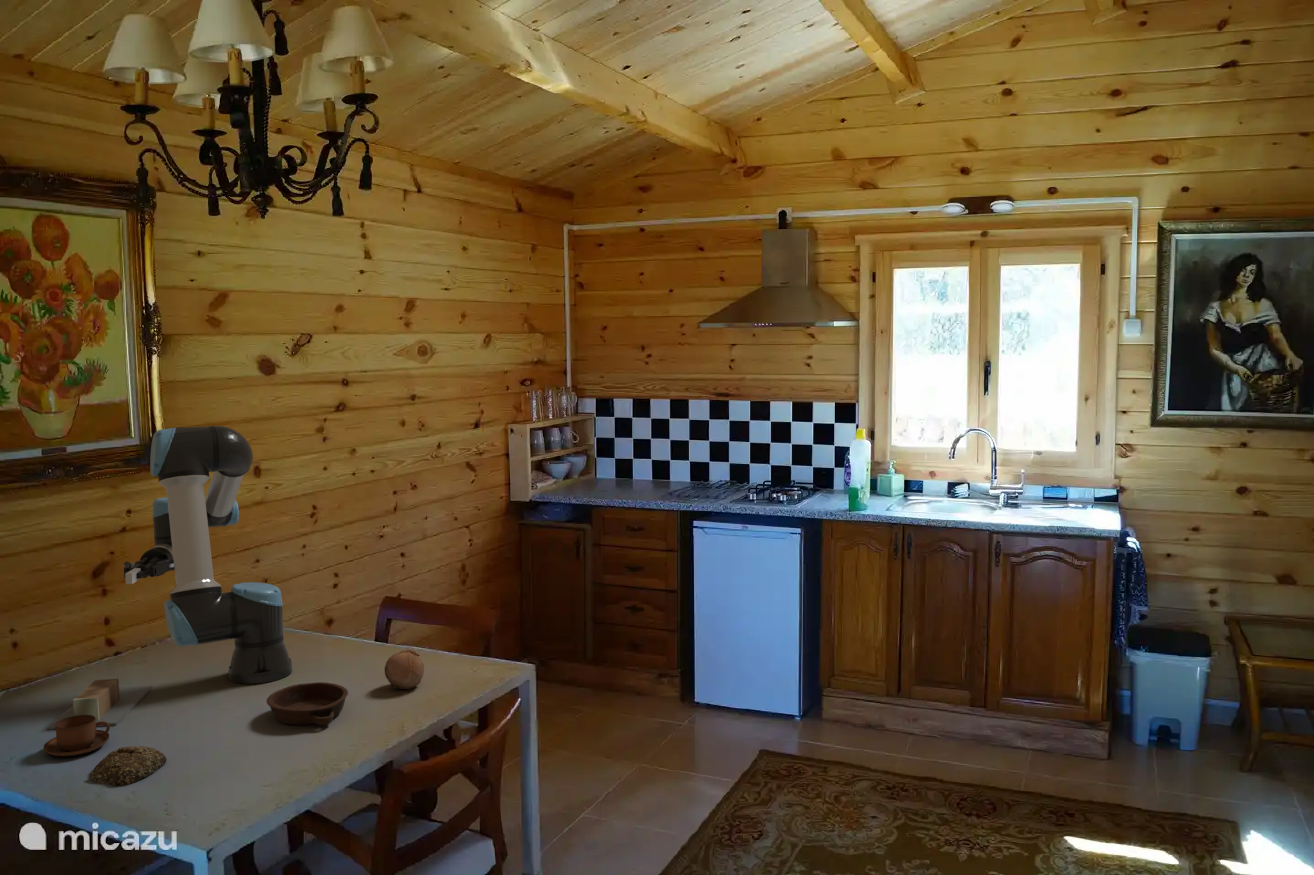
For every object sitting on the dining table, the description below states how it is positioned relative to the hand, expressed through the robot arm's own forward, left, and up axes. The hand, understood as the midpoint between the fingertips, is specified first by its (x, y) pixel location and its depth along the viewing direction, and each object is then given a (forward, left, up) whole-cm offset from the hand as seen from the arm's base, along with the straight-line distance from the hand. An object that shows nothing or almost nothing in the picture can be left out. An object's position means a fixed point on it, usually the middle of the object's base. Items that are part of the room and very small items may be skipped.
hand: (128, 578), depth 254 cm
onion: (-67, -19, -26) cm, 75 cm away
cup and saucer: (-24, +36, -26) cm, 51 cm away
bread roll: (-43, +41, -26) cm, 65 cm away
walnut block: (-7, +14, -23) cm, 28 cm away
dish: (-57, +4, -26) cm, 63 cm away
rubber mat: (-9, +17, -26) cm, 32 cm away
